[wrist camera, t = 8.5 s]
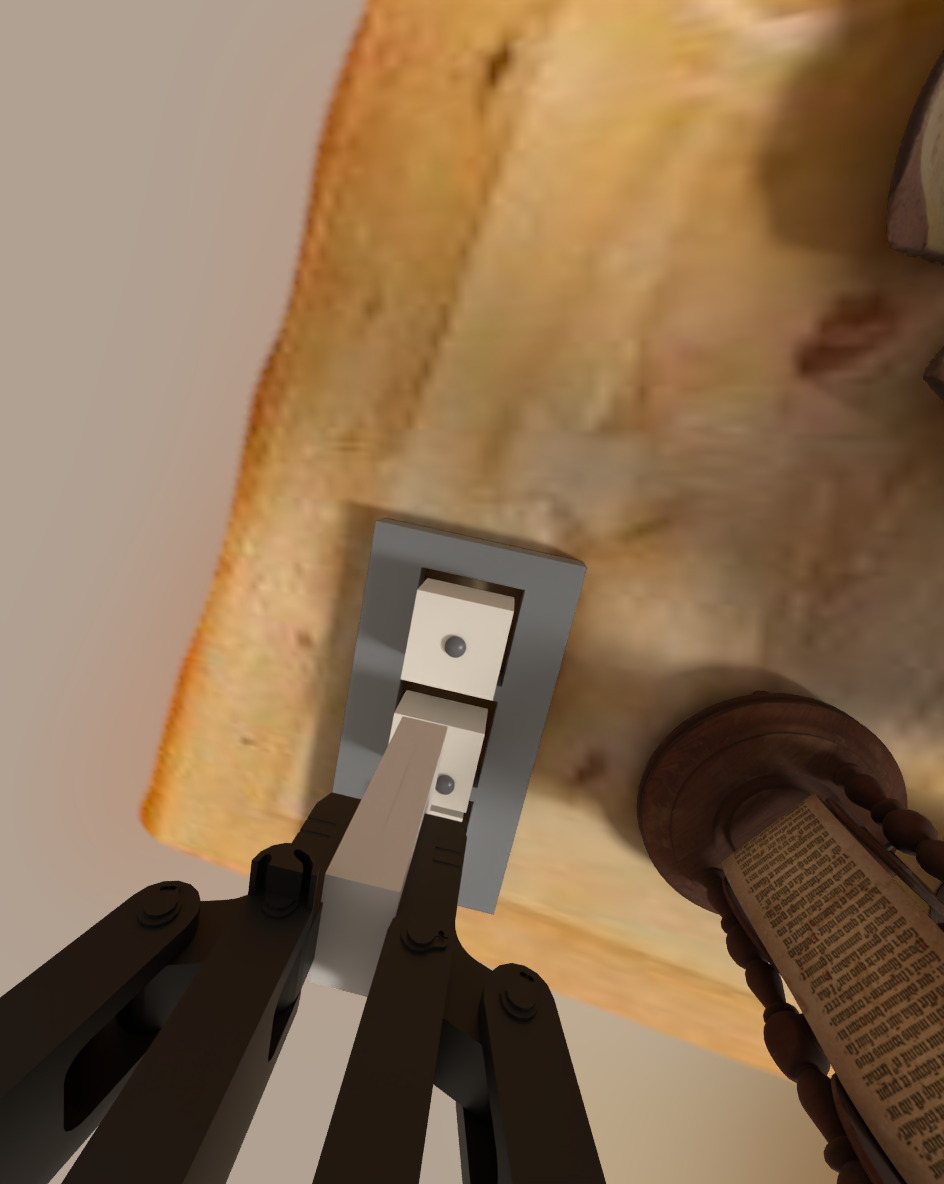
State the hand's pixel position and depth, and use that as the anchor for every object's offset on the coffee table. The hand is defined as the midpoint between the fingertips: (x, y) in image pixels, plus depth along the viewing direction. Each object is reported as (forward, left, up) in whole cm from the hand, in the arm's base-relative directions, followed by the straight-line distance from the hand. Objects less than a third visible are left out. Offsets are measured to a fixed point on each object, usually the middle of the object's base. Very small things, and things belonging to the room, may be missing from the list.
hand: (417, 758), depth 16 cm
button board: (+7, 0, -15) cm, 17 cm away
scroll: (+7, +20, -16) cm, 26 cm away
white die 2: (+7, 0, -13) cm, 15 cm away
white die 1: (0, 0, -13) cm, 13 cm away
